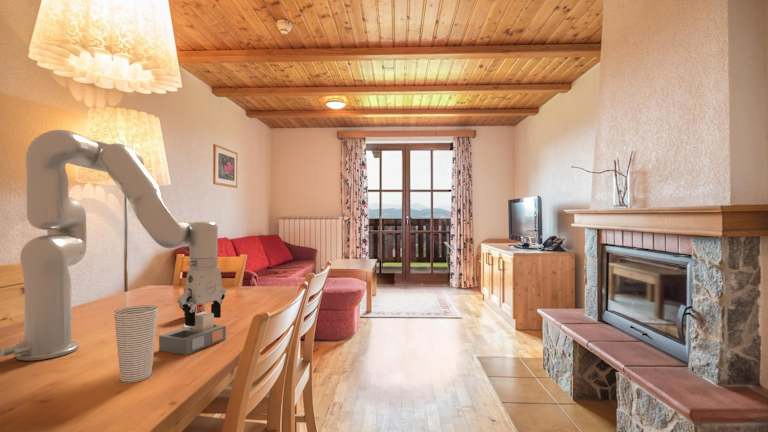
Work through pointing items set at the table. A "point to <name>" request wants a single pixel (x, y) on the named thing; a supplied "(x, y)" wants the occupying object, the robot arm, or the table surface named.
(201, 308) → the soda can
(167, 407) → the table surface
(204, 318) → the cream rectangular block
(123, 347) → the cup
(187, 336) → the grey compartment tray
